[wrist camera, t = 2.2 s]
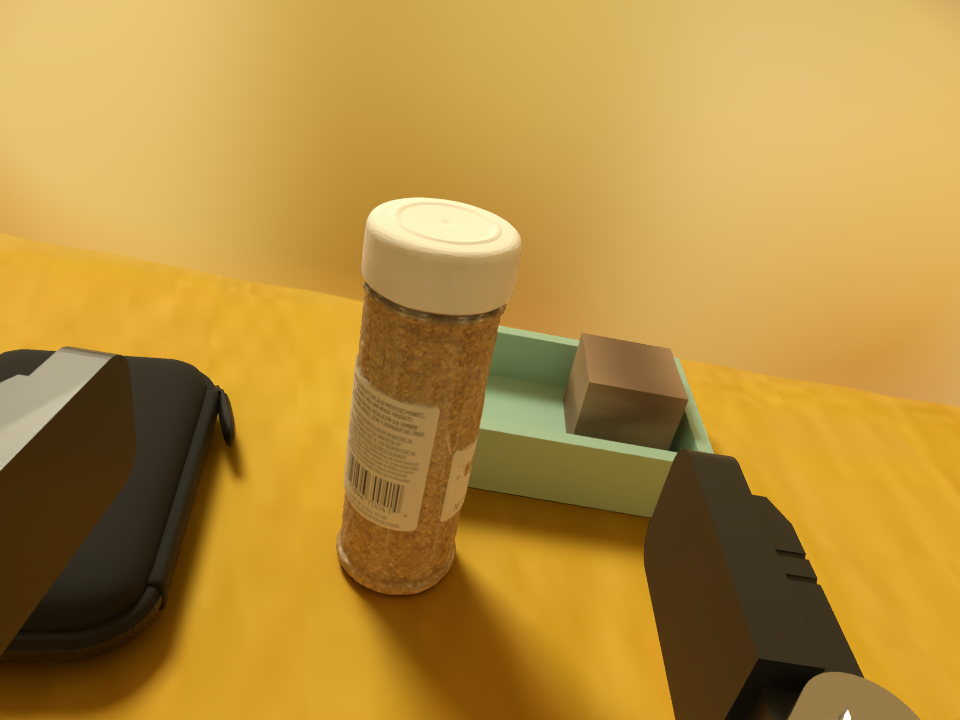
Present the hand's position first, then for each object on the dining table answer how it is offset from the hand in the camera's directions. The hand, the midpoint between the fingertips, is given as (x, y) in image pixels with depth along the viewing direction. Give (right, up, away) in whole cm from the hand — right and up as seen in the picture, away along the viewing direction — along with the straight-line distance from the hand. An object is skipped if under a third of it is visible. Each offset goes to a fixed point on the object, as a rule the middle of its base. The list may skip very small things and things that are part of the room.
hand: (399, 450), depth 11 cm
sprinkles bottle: (-2, -6, +17) cm, 18 cm away
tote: (+4, -2, +25) cm, 25 cm away
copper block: (+8, -2, +25) cm, 26 cm away
